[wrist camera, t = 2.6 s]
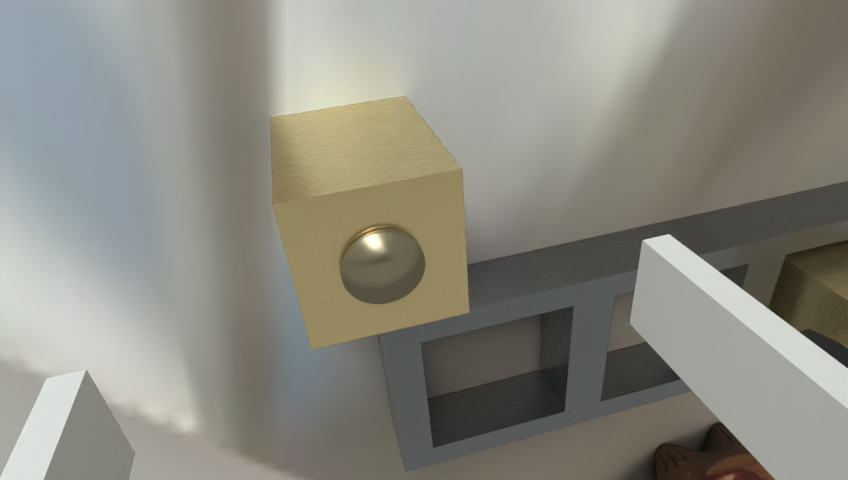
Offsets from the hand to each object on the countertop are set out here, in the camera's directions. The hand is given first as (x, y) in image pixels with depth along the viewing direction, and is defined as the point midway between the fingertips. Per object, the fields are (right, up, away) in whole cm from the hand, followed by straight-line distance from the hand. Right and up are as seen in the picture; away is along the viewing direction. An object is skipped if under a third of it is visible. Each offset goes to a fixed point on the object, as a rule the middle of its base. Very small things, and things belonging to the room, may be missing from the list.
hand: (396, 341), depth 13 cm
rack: (+12, -1, +16) cm, 20 cm away
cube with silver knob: (-2, +5, +8) cm, 10 cm away
